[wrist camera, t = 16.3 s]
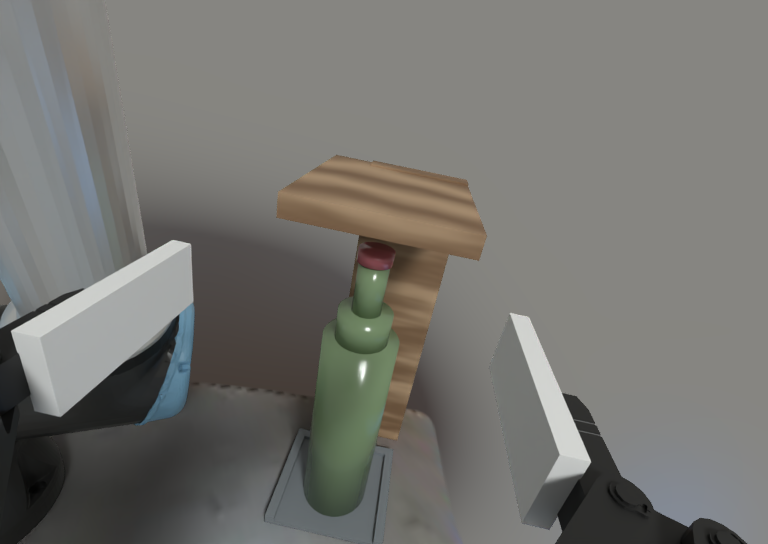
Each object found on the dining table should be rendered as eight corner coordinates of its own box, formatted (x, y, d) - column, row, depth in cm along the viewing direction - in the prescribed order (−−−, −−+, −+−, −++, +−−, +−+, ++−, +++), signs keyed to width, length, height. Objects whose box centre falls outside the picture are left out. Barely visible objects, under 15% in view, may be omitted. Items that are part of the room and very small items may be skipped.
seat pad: (381, 548, 41) (382, 543, 41) (264, 521, 42) (264, 515, 41) (391, 454, 52) (393, 449, 52) (298, 433, 52) (299, 428, 52)
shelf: (385, 554, 41) (487, 233, 25) (257, 525, 41) (278, 188, 25) (398, 429, 56) (466, 180, 40) (305, 408, 57) (336, 153, 41)
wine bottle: (290, 486, 45) (315, 242, 32) (333, 448, 51) (370, 227, 37) (336, 531, 42) (386, 277, 28) (377, 484, 47) (435, 255, 34)
